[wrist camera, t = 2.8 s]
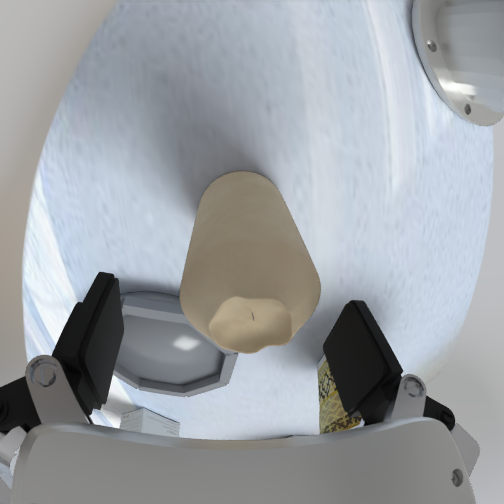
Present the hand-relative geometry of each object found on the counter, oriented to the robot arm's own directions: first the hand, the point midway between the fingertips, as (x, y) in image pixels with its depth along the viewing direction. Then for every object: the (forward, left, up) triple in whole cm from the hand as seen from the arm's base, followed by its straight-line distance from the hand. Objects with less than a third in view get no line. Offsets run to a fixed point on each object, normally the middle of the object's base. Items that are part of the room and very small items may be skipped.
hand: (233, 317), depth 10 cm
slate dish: (+14, -4, -9) cm, 17 cm away
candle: (-1, +1, -9) cm, 9 cm away
